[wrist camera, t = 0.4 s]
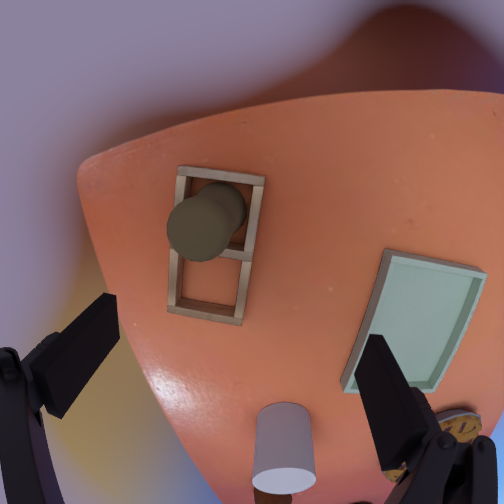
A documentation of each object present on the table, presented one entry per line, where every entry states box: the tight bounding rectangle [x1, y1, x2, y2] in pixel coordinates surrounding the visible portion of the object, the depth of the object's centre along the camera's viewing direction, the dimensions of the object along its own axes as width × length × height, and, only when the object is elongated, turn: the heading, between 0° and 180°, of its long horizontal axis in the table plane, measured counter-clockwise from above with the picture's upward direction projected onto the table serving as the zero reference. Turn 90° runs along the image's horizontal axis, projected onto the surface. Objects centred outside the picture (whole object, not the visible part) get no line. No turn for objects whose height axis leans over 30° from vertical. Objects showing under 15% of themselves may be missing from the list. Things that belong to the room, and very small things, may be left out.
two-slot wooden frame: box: [167, 165, 266, 326], centre depth 32 cm, size 17×9×2 cm, turn 171°
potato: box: [254, 487, 292, 504], centre depth 44 cm, size 8×12×8 cm, turn 19°
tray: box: [340, 249, 488, 394], centre depth 34 cm, size 20×16×3 cm
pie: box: [383, 409, 482, 483], centre depth 40 cm, size 22×22×5 cm
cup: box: [252, 402, 316, 494], centre depth 35 cm, size 8×8×12 cm
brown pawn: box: [167, 182, 247, 262], centre depth 27 cm, size 6×6×11 cm
